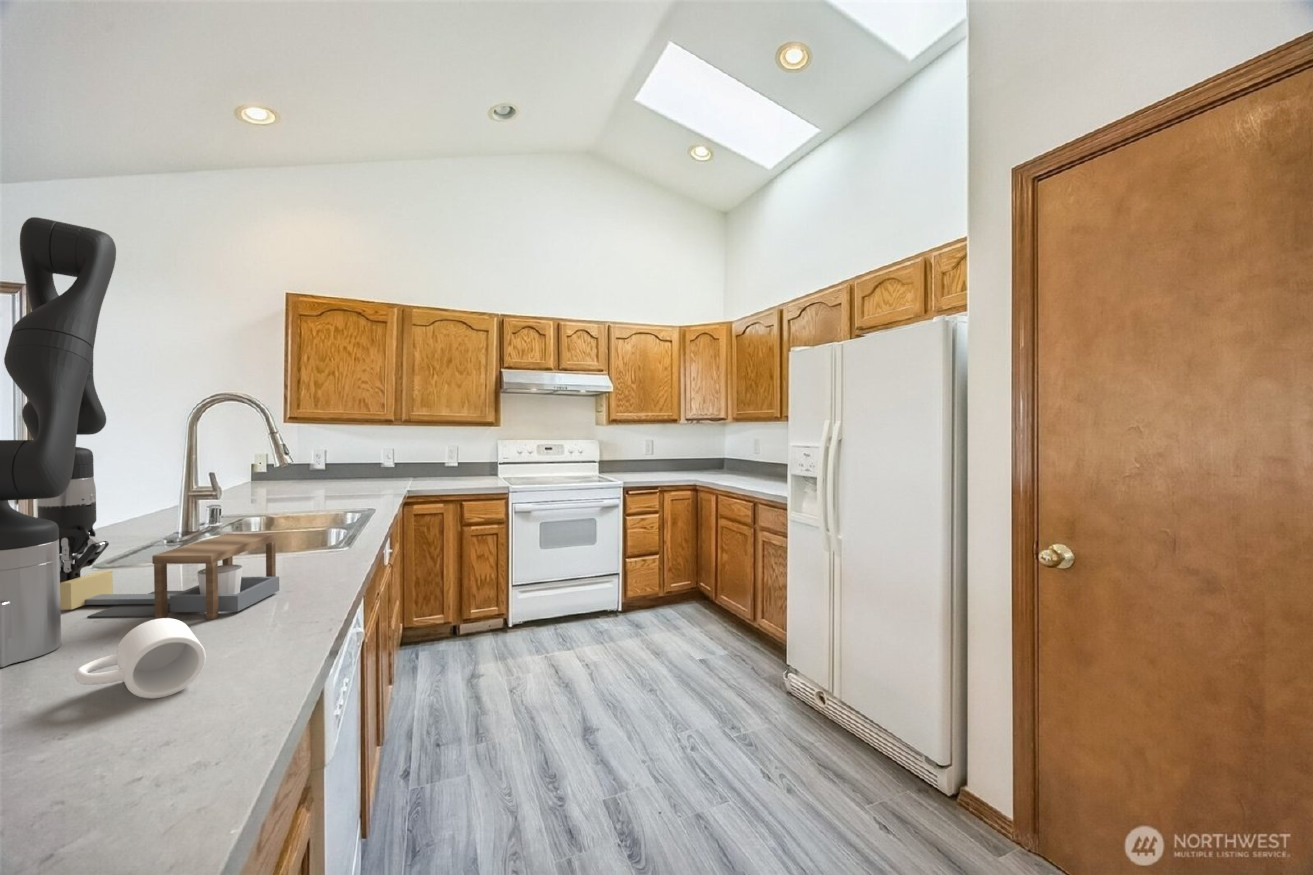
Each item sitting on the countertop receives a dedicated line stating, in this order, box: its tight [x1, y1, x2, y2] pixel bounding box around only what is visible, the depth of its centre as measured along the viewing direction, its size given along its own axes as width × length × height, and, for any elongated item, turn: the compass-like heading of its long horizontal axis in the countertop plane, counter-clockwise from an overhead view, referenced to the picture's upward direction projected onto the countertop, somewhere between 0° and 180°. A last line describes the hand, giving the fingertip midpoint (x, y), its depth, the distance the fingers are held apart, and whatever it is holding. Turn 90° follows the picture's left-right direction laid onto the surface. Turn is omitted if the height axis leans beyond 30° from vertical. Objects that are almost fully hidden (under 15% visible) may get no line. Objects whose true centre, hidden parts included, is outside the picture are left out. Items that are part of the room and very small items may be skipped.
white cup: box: [197, 564, 243, 594], centre depth 103 cm, size 7×7×7 cm
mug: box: [74, 617, 207, 700], centre depth 71 cm, size 12×10×8 cm
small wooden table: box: [151, 533, 277, 621], centre depth 103 cm, size 18×10×12 cm, turn 4°
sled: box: [60, 570, 280, 613], centre depth 102 cm, size 12×33×5 cm, turn 94°
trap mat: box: [86, 590, 183, 619], centre depth 102 cm, size 14×12×1 cm
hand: (69, 589), depth 101 cm, fingers closed
